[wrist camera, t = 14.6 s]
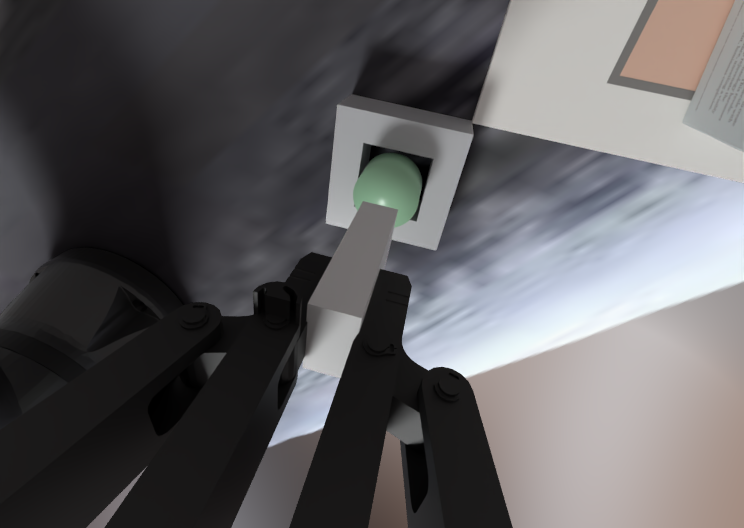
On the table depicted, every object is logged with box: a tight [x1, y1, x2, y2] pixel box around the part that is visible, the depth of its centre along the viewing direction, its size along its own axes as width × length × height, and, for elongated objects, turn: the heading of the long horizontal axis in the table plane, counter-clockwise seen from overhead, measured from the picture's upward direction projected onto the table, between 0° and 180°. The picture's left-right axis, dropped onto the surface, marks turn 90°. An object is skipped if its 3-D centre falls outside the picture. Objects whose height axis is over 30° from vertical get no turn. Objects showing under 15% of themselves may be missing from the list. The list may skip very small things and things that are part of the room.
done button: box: [353, 153, 422, 228], centre depth 19 cm, size 3×3×2 cm
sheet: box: [472, 0, 744, 183], centre depth 15 cm, size 15×13×1 cm
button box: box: [326, 94, 474, 250], centre depth 21 cm, size 7×7×3 cm
